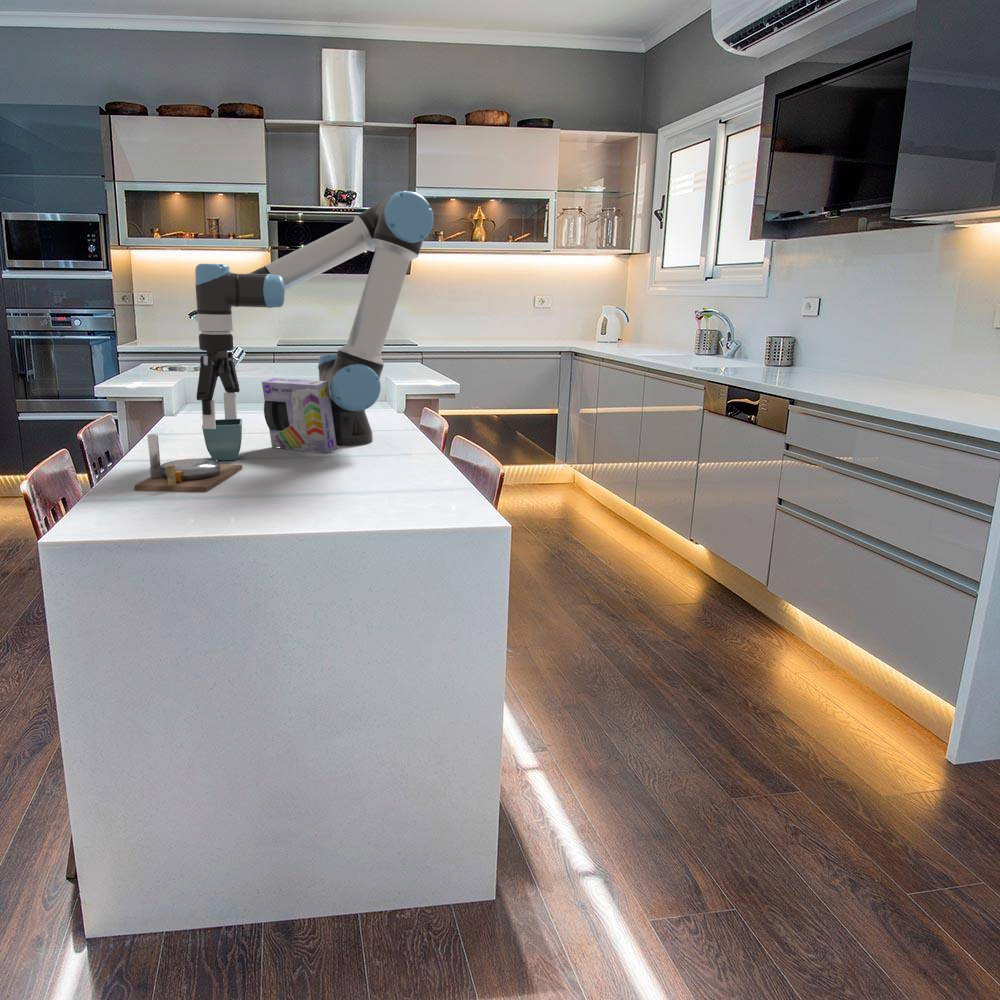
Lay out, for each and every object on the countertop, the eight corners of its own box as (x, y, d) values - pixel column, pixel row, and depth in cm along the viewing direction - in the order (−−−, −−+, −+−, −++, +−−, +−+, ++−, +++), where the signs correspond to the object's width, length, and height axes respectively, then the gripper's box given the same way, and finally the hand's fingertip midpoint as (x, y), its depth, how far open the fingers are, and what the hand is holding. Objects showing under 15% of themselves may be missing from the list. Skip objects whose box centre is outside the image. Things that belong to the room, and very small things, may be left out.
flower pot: (204, 463, 198) (201, 425, 196) (206, 456, 206) (203, 419, 204) (243, 462, 200) (241, 424, 198) (244, 454, 208) (242, 418, 206)
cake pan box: (266, 447, 217) (258, 379, 211) (280, 442, 221) (272, 375, 216) (325, 455, 208) (318, 384, 203) (338, 450, 213) (331, 380, 207)
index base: (242, 469, 193) (241, 447, 191) (206, 491, 172) (204, 467, 171) (178, 467, 193) (176, 446, 192) (134, 490, 173) (132, 466, 172)
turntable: (213, 465, 190) (210, 425, 188) (226, 477, 180) (223, 435, 177) (146, 471, 184) (142, 430, 181) (156, 484, 173) (151, 441, 170)
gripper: (219, 329, 208) (224, 415, 213) (176, 335, 184) (183, 432, 189) (250, 330, 207) (253, 416, 213) (210, 336, 183) (216, 433, 188)
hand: (220, 424), depth 201 cm, fingers open, 13 cm apart
